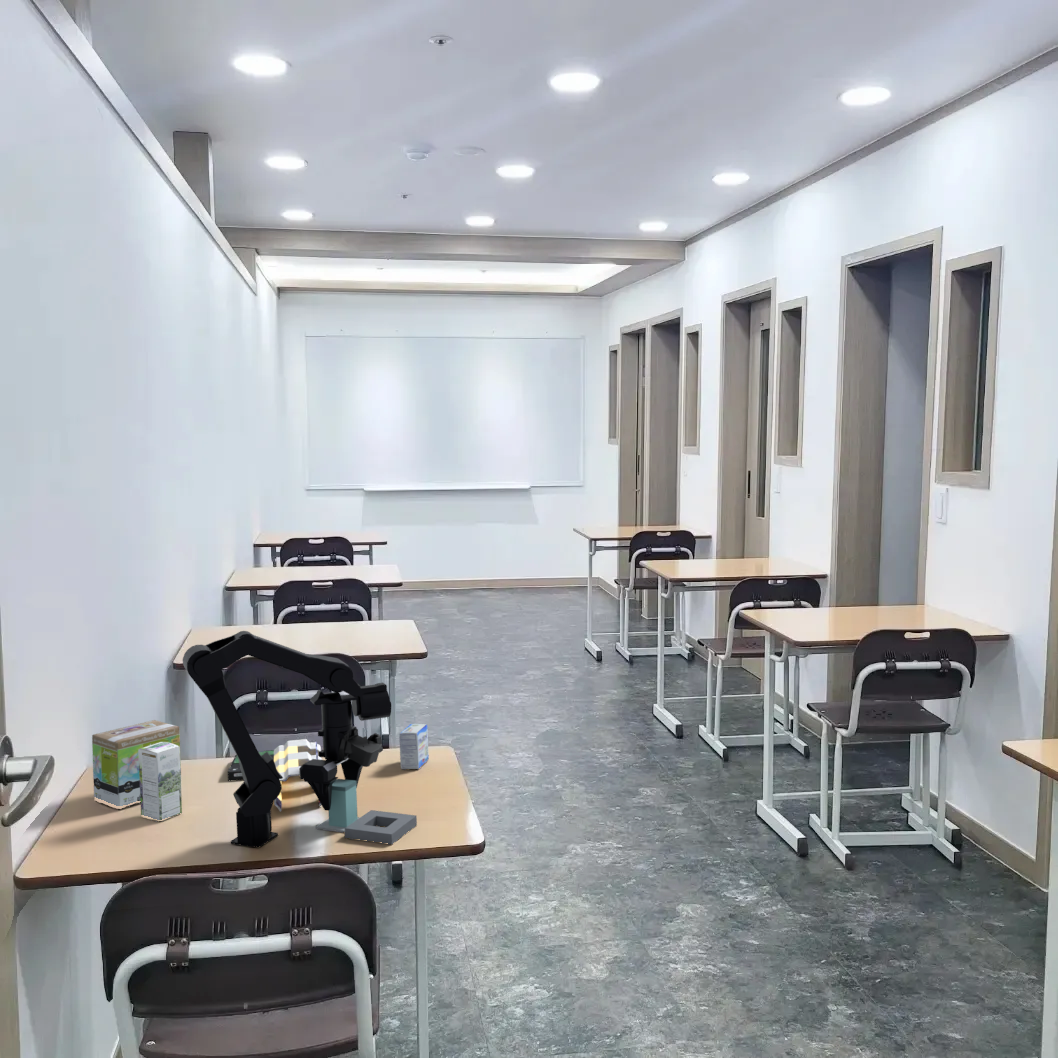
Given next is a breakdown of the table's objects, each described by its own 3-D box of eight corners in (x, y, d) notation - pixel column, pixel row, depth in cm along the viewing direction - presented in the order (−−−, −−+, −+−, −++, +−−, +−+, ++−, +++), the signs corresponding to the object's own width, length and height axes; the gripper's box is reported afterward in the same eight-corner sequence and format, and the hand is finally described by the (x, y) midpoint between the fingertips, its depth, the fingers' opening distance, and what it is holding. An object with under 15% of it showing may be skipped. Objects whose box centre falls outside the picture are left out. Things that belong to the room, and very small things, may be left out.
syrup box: (163, 809, 211) (160, 740, 210) (183, 814, 208) (179, 744, 207) (140, 818, 206) (136, 747, 205) (160, 823, 203) (156, 751, 202)
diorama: (326, 808, 210) (323, 746, 209) (274, 813, 208) (271, 750, 207) (321, 771, 234) (319, 715, 233) (275, 775, 232) (272, 719, 231)
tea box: (119, 812, 210) (115, 741, 209) (93, 802, 216) (89, 734, 215) (183, 791, 222) (180, 724, 221) (156, 782, 228) (153, 717, 227)
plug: (346, 827, 197) (345, 787, 197) (328, 825, 199) (327, 785, 198) (357, 820, 201) (356, 780, 200) (339, 818, 202) (338, 778, 202)
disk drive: (275, 780, 230) (280, 760, 244) (274, 768, 229) (280, 748, 244) (227, 784, 228) (236, 762, 243) (227, 771, 228) (235, 751, 242)
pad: (347, 833, 196) (347, 831, 196) (315, 828, 198) (315, 826, 198) (365, 820, 202) (365, 818, 202) (335, 816, 205) (335, 814, 205)
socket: (391, 844, 189) (391, 834, 189) (345, 838, 193) (344, 828, 193) (416, 825, 199) (416, 815, 198) (371, 819, 202) (371, 810, 202)
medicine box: (418, 770, 232) (417, 733, 232) (400, 769, 233) (398, 732, 233) (429, 759, 240) (427, 723, 239) (410, 759, 241) (409, 723, 240)
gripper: (348, 740, 187) (351, 823, 188) (396, 714, 204) (399, 790, 205) (296, 735, 191) (299, 817, 192) (348, 710, 208) (351, 785, 209)
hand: (340, 802), depth 200 cm, fingers open, 9 cm apart
